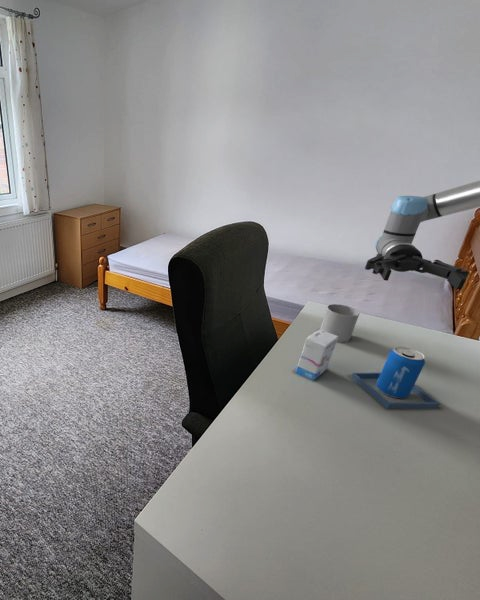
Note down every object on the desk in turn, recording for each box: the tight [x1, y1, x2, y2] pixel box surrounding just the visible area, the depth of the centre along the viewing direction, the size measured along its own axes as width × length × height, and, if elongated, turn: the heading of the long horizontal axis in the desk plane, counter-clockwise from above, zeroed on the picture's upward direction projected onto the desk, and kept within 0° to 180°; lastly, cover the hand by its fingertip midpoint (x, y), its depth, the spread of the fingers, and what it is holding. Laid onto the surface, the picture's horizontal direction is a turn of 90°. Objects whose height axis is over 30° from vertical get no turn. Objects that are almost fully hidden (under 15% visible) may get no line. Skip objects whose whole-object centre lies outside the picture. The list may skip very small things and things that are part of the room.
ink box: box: [294, 329, 338, 381], centre depth 93 cm, size 9×5×12 cm, turn 126°
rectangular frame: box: [350, 372, 441, 410], centre depth 87 cm, size 12×12×2 cm
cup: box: [319, 303, 360, 343], centre depth 110 cm, size 8×8×10 cm
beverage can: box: [375, 346, 426, 399], centre depth 85 cm, size 6×6×12 cm
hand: (423, 279), depth 83 cm, fingers open, 13 cm apart
